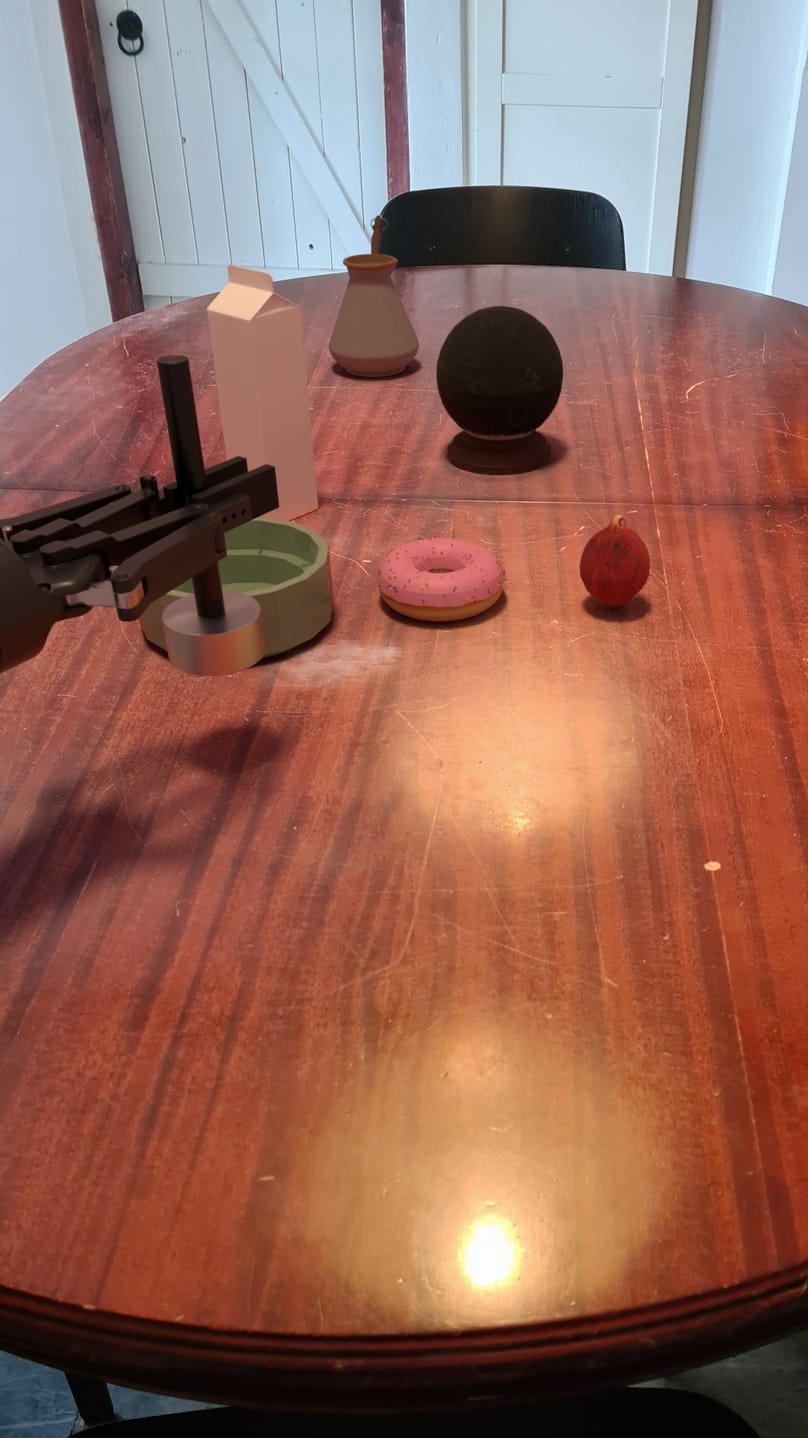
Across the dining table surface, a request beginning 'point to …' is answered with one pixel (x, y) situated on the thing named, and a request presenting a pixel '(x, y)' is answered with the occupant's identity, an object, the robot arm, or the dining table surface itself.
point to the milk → (264, 386)
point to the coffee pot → (372, 317)
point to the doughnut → (440, 579)
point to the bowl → (268, 582)
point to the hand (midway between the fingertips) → (258, 481)
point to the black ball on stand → (499, 390)
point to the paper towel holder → (210, 621)
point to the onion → (615, 564)
